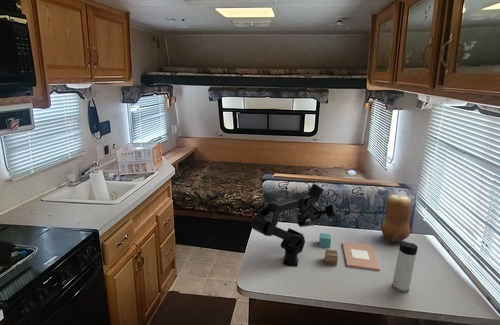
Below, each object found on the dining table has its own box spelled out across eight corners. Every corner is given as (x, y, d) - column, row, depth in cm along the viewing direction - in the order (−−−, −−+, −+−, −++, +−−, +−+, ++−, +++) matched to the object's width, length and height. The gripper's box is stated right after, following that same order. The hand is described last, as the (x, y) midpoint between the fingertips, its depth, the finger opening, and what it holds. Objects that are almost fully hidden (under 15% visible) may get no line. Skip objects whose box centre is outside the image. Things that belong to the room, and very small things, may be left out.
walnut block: (336, 266, 142) (337, 256, 140) (325, 264, 142) (326, 254, 141) (335, 259, 146) (336, 250, 145) (324, 258, 147) (325, 249, 146)
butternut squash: (388, 231, 175) (395, 189, 168) (412, 242, 165) (421, 197, 158) (374, 238, 167) (381, 194, 160) (398, 250, 157) (407, 203, 150)
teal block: (329, 248, 156) (330, 239, 155) (319, 246, 157) (320, 237, 156) (329, 243, 161) (330, 234, 160) (319, 241, 162) (320, 233, 160)
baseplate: (379, 270, 139) (380, 268, 139) (346, 266, 141) (347, 264, 141) (371, 247, 158) (371, 245, 158) (342, 243, 160) (342, 241, 160)
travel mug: (391, 289, 127) (399, 245, 122) (392, 280, 133) (401, 237, 128) (408, 294, 125) (418, 249, 119) (409, 285, 130) (418, 242, 125)
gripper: (326, 188, 147) (337, 202, 158) (289, 200, 154) (302, 213, 165) (331, 209, 140) (342, 222, 151) (292, 220, 147) (305, 232, 158)
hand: (322, 222), depth 156 cm, fingers open, 9 cm apart
